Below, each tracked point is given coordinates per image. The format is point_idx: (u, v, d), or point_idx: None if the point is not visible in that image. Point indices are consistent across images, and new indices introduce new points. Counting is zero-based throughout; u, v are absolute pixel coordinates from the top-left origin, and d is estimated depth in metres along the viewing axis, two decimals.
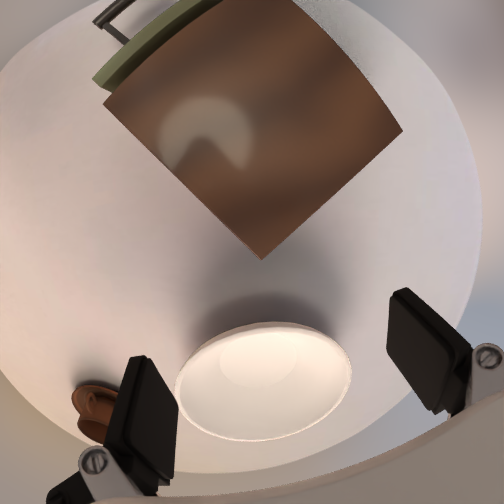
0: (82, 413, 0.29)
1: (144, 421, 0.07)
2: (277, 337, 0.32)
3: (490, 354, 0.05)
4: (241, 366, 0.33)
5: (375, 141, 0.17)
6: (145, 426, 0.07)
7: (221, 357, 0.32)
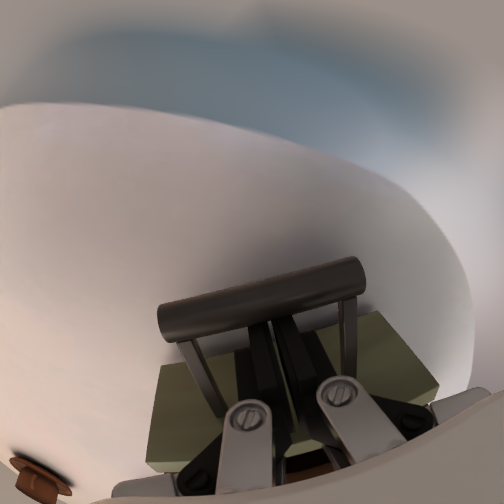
0: (22, 482, 0.18)
1: None
2: None
3: (338, 387, 0.07)
4: None
5: None
6: None
7: None
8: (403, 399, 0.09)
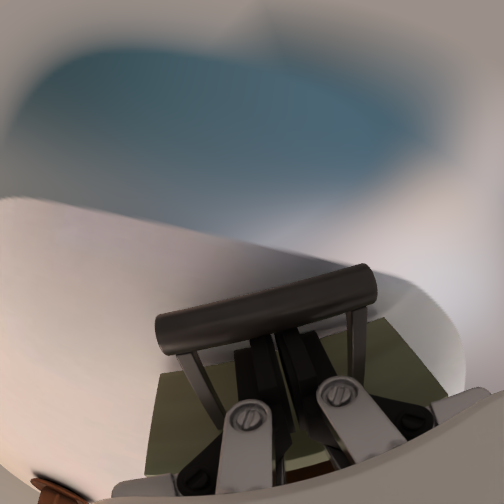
0: (45, 501, 0.19)
1: None
2: None
3: (338, 387, 0.07)
4: None
5: None
6: None
7: None
8: None
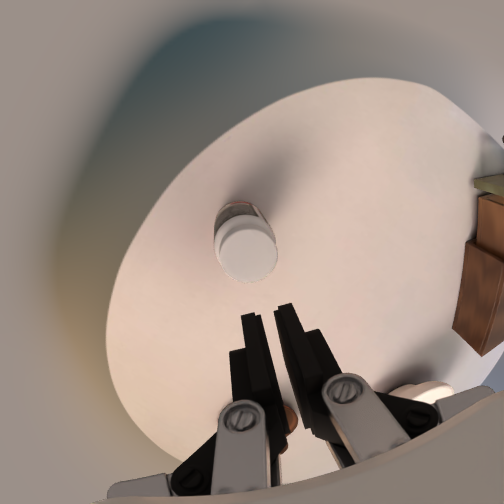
0: None
1: None
2: None
3: (344, 384, 0.07)
4: None
5: None
6: None
7: None
8: None
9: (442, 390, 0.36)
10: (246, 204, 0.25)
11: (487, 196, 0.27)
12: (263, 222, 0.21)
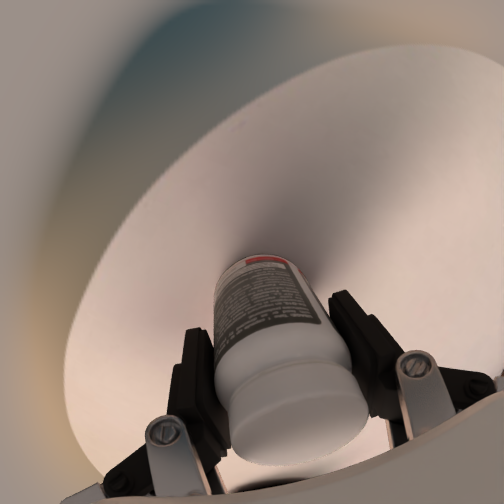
0: None
1: (209, 388, 0.08)
2: None
3: (416, 361, 0.06)
4: None
5: None
6: (210, 393, 0.08)
7: None
8: None
9: None
10: (279, 266, 0.12)
11: None
12: (334, 339, 0.08)
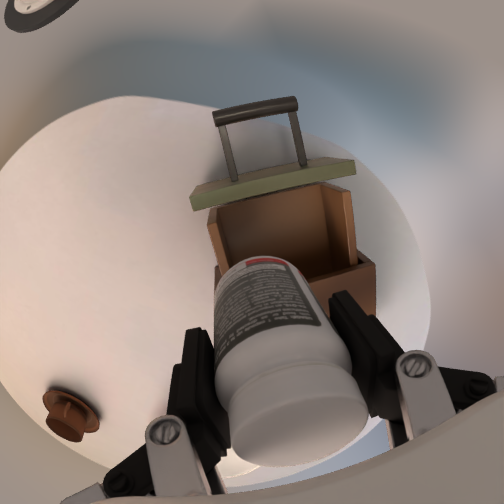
0: (55, 412, 0.32)
1: (209, 388, 0.08)
2: None
3: (416, 361, 0.06)
4: None
5: None
6: (210, 393, 0.08)
7: None
8: (332, 163, 0.21)
9: None
10: (279, 268, 0.12)
11: (226, 205, 0.27)
12: (334, 341, 0.08)
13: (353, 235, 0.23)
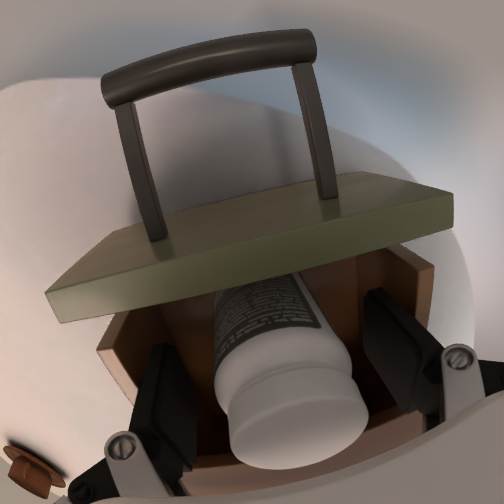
0: (15, 470, 0.18)
1: (170, 405, 0.07)
2: None
3: (460, 354, 0.06)
4: None
5: None
6: (171, 410, 0.07)
7: None
8: (407, 200, 0.07)
9: None
10: None
11: None
12: (334, 343, 0.08)
13: None
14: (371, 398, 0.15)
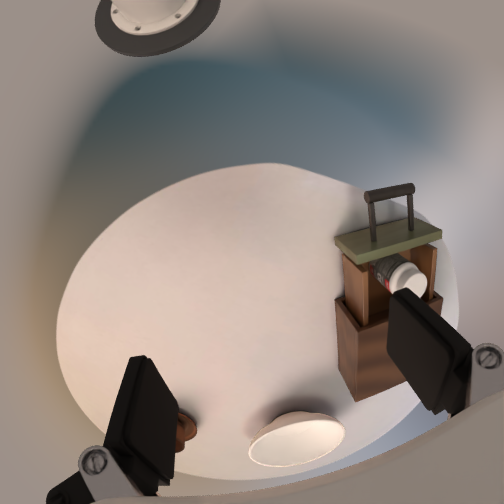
0: None
1: (144, 421, 0.07)
2: None
3: (490, 354, 0.05)
4: None
5: None
6: (145, 426, 0.07)
7: (277, 418, 0.49)
8: (431, 232, 0.30)
9: None
10: None
11: None
12: (416, 266, 0.31)
13: (434, 274, 0.33)
14: None
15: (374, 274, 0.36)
